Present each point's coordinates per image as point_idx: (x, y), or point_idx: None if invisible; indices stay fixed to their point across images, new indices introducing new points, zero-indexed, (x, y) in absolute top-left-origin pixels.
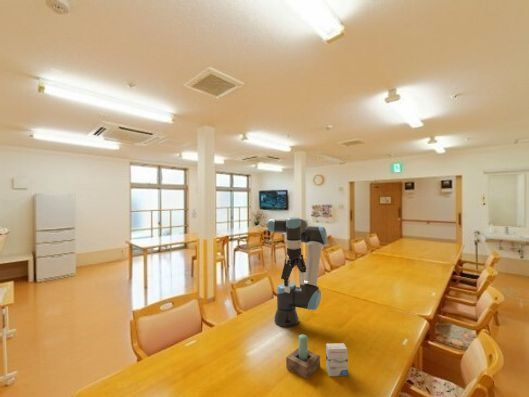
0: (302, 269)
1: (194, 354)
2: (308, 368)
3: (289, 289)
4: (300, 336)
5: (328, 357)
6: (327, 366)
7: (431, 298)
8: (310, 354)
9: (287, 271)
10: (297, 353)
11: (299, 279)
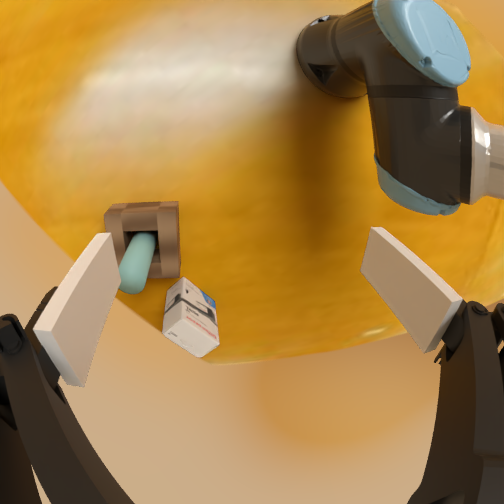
0: (442, 388)
1: (23, 11)
2: None
3: (108, 300)
4: (124, 273)
5: (164, 317)
6: (172, 293)
7: (496, 297)
8: (164, 257)
9: (22, 485)
10: (140, 227)
11: (394, 255)
